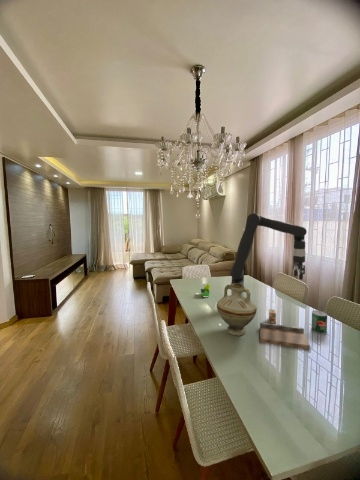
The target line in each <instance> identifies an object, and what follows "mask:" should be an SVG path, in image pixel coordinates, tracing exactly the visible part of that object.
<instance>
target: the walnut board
mask: <svg viewBox="0 0 360 480" xmlns="http://www.w3.org/2000/svg"><path fill="white" fill-rule="evenodd" d="M259 332H260V333H259V335H260V336H259V337H260V343H267V344H273V345H280V346H287V347H292V348H299V349H306V350H310V346H311V345H310V344H309V341H308V339H307V336H306V334H305V328H304V327H300V326H291V325H283V324H277V323H276V324H271V323H267V322H260V323H259Z"/></svg>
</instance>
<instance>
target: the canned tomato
mask: <svg viewBox="0 0 360 480" xmlns="http://www.w3.org/2000/svg"><path fill="white" fill-rule="evenodd" d="M311 330H312V331H313V332H314V333H316V332H317V333H316V334H320V333H321V334H322V335H323V334H327V332H328V313H327V312H325V311H323V310H312V311H311ZM321 334H320V335H321Z"/></svg>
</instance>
